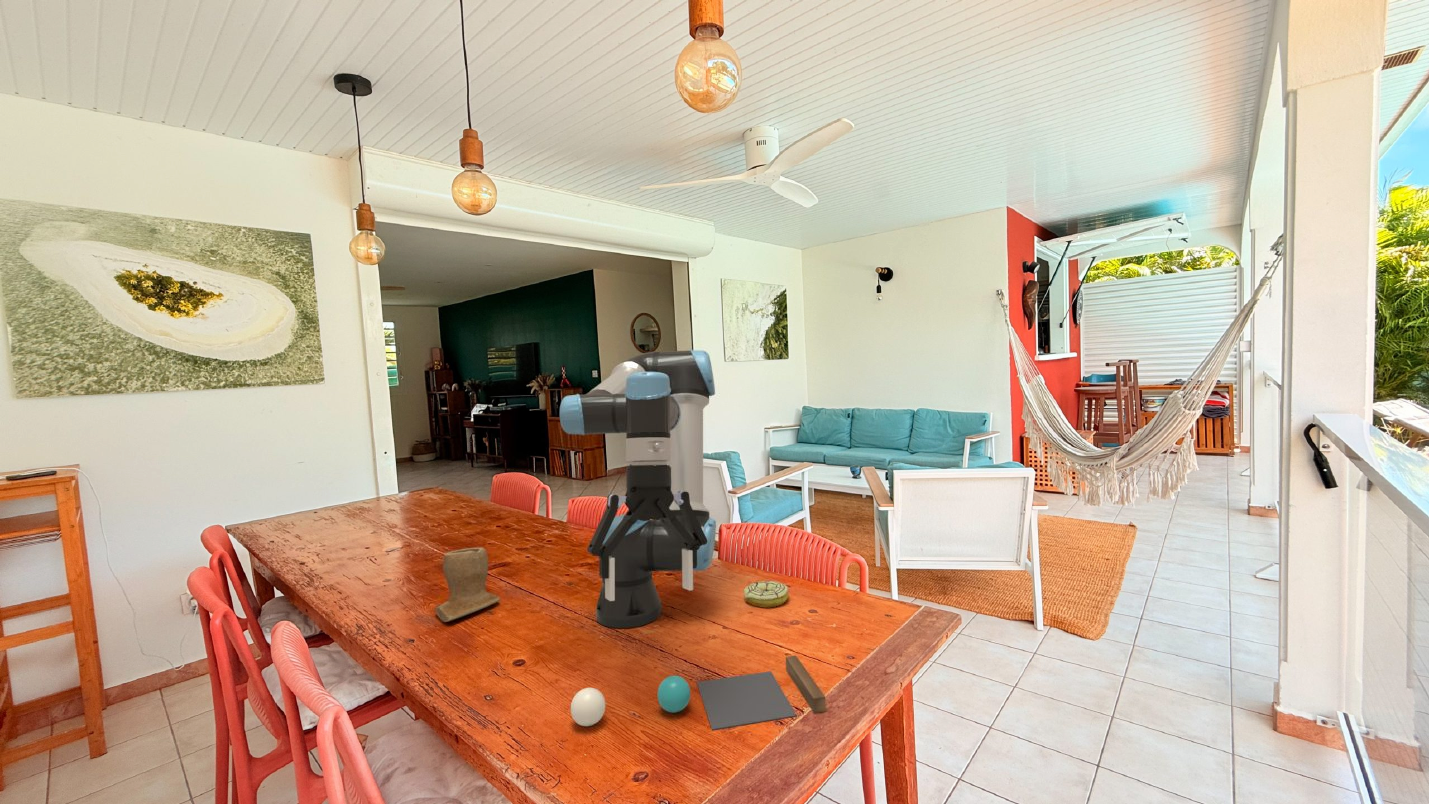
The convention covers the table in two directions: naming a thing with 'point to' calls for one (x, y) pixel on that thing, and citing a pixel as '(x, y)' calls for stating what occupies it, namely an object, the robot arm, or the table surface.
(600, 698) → the cue ball
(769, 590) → the decorated donut
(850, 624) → the table surface
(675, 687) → the teal ball
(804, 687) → the rail
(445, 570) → the tan flanged block
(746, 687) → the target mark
